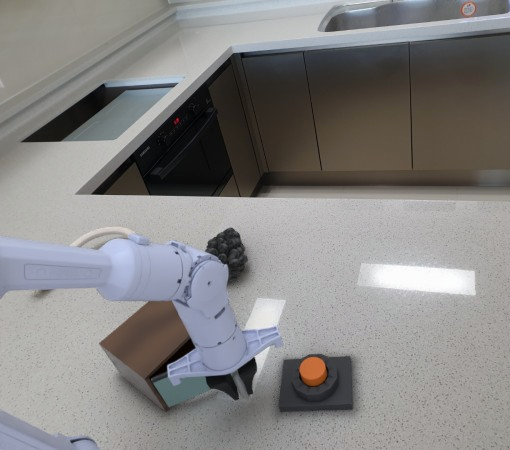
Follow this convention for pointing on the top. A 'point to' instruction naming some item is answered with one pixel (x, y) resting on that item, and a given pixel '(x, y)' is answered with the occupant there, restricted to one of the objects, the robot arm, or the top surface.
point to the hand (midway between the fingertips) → (242, 391)
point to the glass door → (189, 387)
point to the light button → (313, 371)
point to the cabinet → (148, 346)
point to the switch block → (317, 397)
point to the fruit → (228, 251)
